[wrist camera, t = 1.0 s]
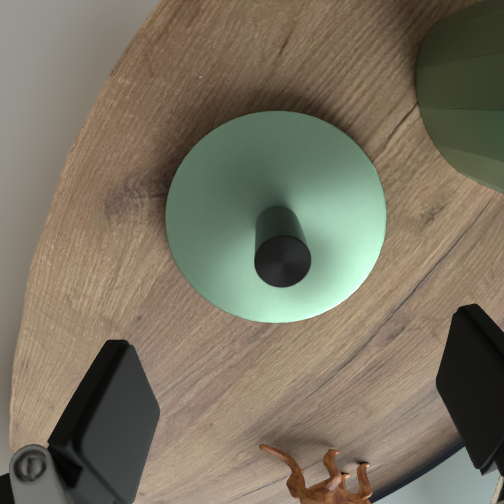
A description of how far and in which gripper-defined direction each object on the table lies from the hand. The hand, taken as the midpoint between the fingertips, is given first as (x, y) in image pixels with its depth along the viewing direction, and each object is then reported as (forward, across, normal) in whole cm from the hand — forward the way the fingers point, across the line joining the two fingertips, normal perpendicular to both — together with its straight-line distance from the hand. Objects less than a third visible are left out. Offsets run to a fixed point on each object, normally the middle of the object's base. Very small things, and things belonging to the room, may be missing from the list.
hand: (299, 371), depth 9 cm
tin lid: (+12, 0, 0) cm, 12 cm away
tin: (+13, -16, -8) cm, 22 cm away
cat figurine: (+13, -3, +28) cm, 31 cm away
